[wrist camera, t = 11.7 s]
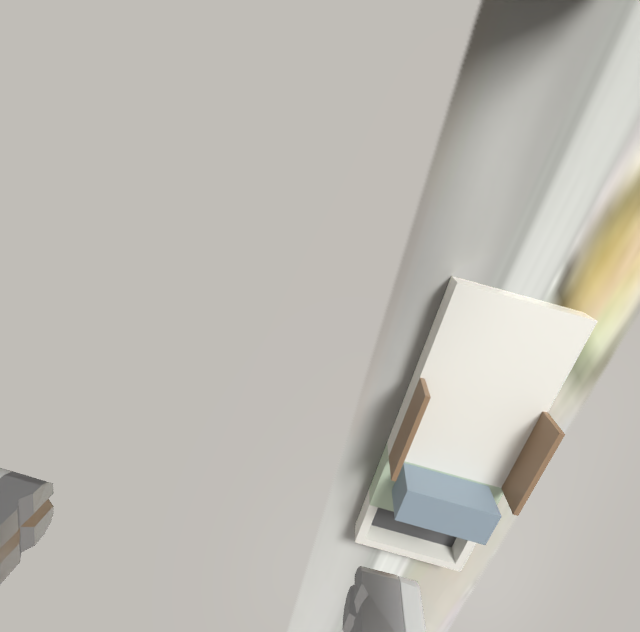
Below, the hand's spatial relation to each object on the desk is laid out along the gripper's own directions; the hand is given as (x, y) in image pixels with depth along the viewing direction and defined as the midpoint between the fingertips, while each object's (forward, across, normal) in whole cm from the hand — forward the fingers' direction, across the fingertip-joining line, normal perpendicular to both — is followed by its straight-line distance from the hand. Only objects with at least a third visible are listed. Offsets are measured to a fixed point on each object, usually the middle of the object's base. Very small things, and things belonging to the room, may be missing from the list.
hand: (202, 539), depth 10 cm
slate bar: (+28, -18, +20) cm, 39 cm away
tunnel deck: (+30, -19, +14) cm, 38 cm away
